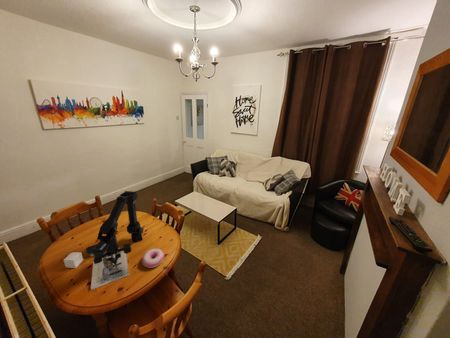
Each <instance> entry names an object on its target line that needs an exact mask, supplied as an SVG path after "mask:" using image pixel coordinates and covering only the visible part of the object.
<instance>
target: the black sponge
mask: <svg viewBox="0 0 450 338" xmlns="http://www.w3.org/2000/svg"><path fill="white" fill-rule="evenodd" d="M95 245H96V244H93V245H90V246H87V247H86V248H85V252H86V255H87V256H88V257H94V255H93V253H92V250H93V249H94V248H95Z"/></svg>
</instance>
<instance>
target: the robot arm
mask: <svg viewBox="0 0 450 338" xmlns="http://www.w3.org/2000/svg"><path fill="white" fill-rule="evenodd" d="M137 200H138V193H137V192H136V191H133V190H130V191H129V190H126V191H124V192H121V193H120V194H119V196H117V197H116V200H115V204H114V206H113V208H112V210H111V211H110V213H109V216H108V218H107V219H106V220H103V223H102V224H101V225H100V228H99V231H98V234H97V237H96V240H97V241H98V240H99V241H98V242H97V243H96V244H94V245H95V248H94V249H93V250H92V253H93V255H94V256H93V261H94V264H97V263H100V262H102V258H103V257H106V258H107V261H111V262H112V263H114V264H116V263H117V260H118V258H119V257H120V256H121V252H123V251H124V253H125V254H129V253H132V248H131V243H130V242H129V243H124V244H123V245H122V246H123V247H119V243H118V240H117V236H116V234H117V233H118V232H119V231H118V226H119V224H118V221H119V218H120V216H121V214H122V212H123V209H124V207H125V205H126V207H127V215H128V225H127V226H126V232H127V234H129V235H130V238H131V242H132V244H135V243H138V242H141V241H143V240H144V239H143V234H144V229H145V228H144V227H142V226H141V223H140V222H139V221H138V217H137V208H136V201H137ZM114 254H115V259H114V257H113V255H114Z"/></svg>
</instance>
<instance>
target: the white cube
mask: <svg viewBox="0 0 450 338" xmlns="http://www.w3.org/2000/svg"><path fill="white" fill-rule="evenodd" d="M83 261H84V257H83V255H82V252H78V251H77V252H75V251H73V252H70V253H69V254H68V255H67V256H66V257H65V258H64V259H63V262H64V263H63V264H64V266H65V268H66V269H67V268H72V269H73V268H75V269H76V268H78V266H79V265H80V264H81V263H82V262H83Z"/></svg>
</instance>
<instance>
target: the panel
mask: <svg viewBox="0 0 450 338" xmlns="http://www.w3.org/2000/svg"><path fill="white" fill-rule="evenodd" d="M127 254H128V253H127ZM127 254H125V253H124V251H123V252H121V256H120V257H119V258H118V260H117V263H116V264H114V263H113V268H112V269H109V278H106V279H104V280H103V277H102V270H104V269H105V268H107V267H106V263H105V264H103V258H102V262H100V263H97V264H94V260H93V262H92V263H93V264H92V271H91V285H90V290H91V291H92V290H95V289H98V288H99V287H102V286H105V285H107V284H110V283H112V282H114V281H118V280H120V279H123V278H125V277H128V276H130V273H129V263H128V255H127ZM113 257H114V259H115V254H114V255H113Z"/></svg>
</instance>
